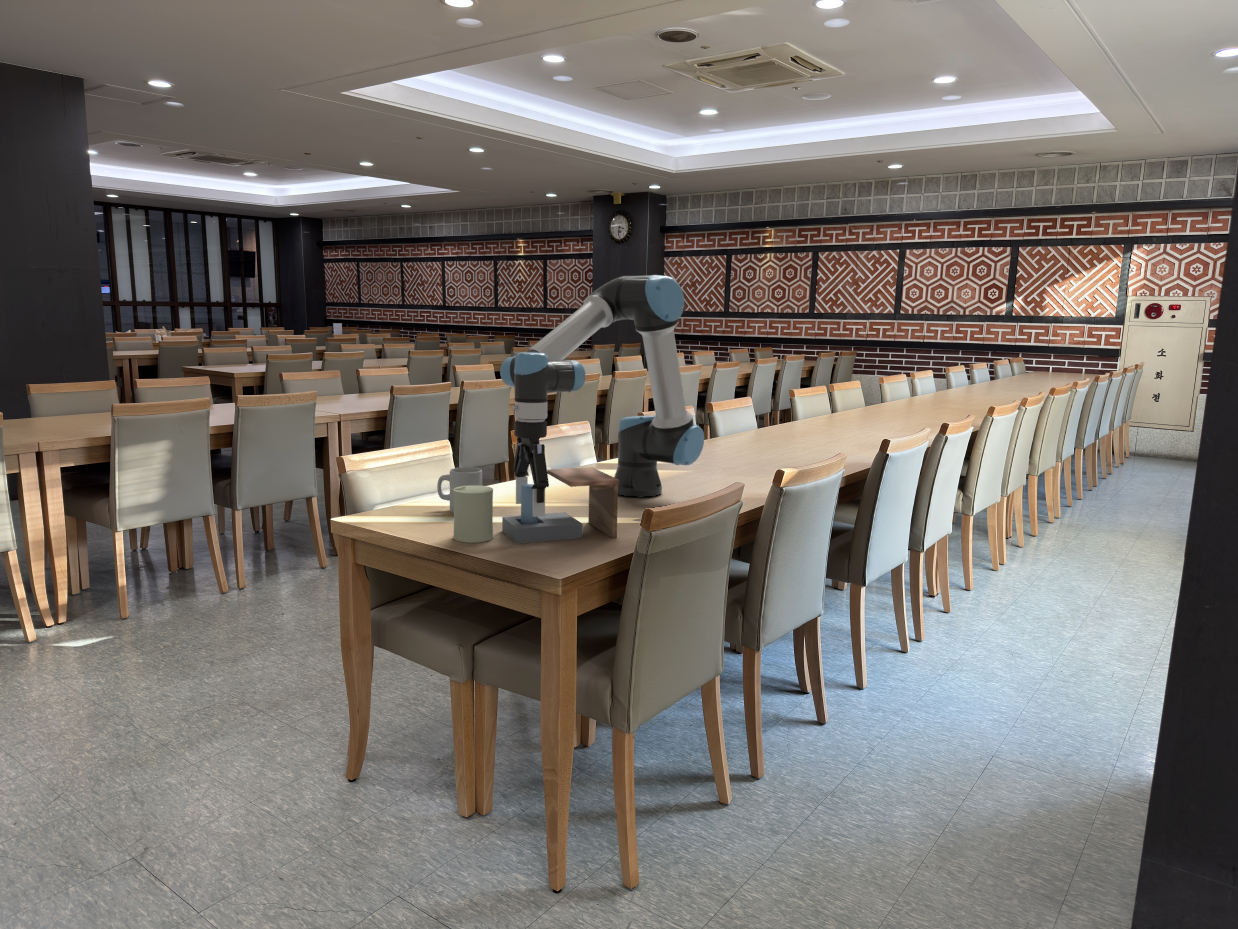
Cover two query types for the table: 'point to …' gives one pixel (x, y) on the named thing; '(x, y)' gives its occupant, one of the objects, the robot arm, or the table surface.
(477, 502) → the can
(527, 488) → the peg
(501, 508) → the table surface
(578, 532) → the socket
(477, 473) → the mug
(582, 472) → the wooden l-bracket
